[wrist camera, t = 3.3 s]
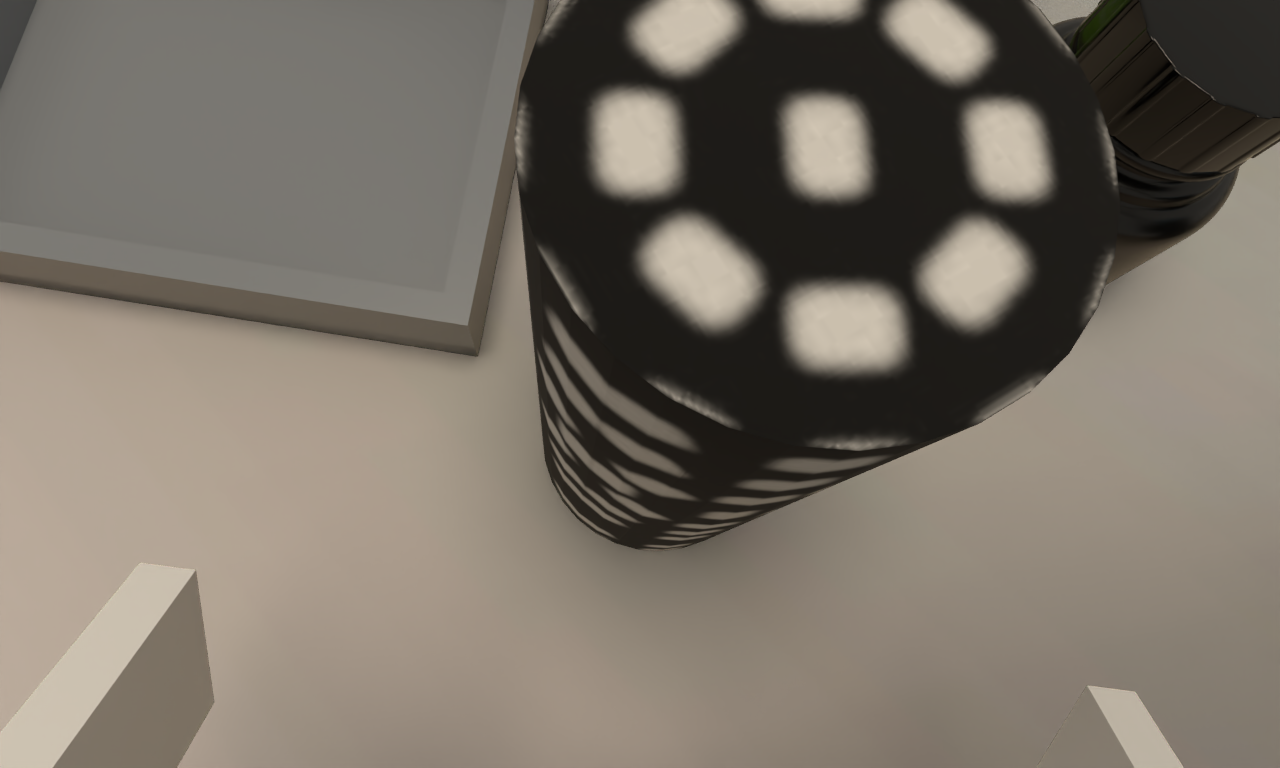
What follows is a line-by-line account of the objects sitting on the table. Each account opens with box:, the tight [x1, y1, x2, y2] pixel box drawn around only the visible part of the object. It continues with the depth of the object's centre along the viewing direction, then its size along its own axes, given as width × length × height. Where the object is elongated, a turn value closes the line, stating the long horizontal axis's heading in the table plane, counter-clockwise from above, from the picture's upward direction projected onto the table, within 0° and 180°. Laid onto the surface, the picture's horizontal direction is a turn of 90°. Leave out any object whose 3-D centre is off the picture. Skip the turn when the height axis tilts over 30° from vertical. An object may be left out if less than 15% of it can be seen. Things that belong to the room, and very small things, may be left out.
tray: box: [0, 0, 548, 356], centre depth 30 cm, size 20×16×4 cm
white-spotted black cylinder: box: [514, 0, 1120, 551], centre depth 21 cm, size 8×8×20 cm
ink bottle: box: [1052, 0, 1280, 285], centre depth 28 cm, size 10×9×12 cm
